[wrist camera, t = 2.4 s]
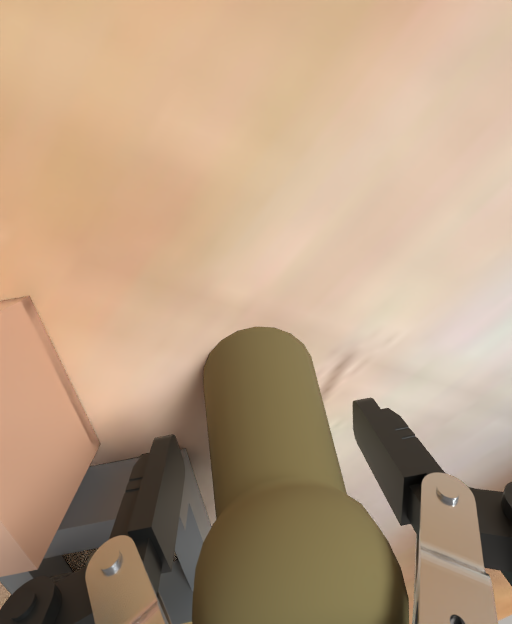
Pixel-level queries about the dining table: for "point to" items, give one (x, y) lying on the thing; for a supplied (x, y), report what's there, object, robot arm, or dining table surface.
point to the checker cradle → (99, 523)
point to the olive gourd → (284, 500)
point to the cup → (36, 439)
